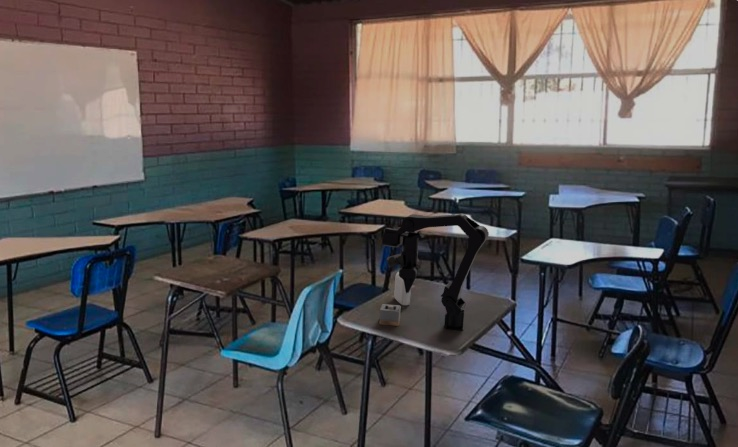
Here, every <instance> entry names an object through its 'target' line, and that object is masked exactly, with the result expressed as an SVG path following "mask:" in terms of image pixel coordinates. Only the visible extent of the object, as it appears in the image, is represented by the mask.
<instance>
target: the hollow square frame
mask: <svg viewBox="0 0 738 447" xmlns="http://www.w3.org/2000/svg"><path fill="white" fill-rule="evenodd" d="M388 306H393V310H390V309H388ZM401 306H402V305H401V304H400V305H398V304H387V303H382V305H381V306H380V309H379V321H380V320H382V321H393V322H399V318H400V319H401V313H402V312H401V311H402V309H401V308H402V307H401ZM399 323H400V322H399Z"/></svg>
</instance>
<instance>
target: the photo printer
mask: <svg viewBox="0 0 738 447" xmlns="http://www.w3.org/2000/svg"><path fill="white" fill-rule="evenodd" d="M394 278H395V280H394V295H393V296H394V297H393V298H394V299H395V301H397V302H398V303H399V304H400V305H401V306H409V305H410V304H411V292H412V288H411V289H410V291H409V293H406V290H405V285H404V280H403V279H402V278H400V276H399V271H397V272H396V274H395V277H394Z"/></svg>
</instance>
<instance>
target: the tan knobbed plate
mask: <svg viewBox="0 0 738 447" xmlns="http://www.w3.org/2000/svg"><path fill="white" fill-rule="evenodd" d="M388 309H390V310H393V306H388ZM400 322H401V317H400V318H399V322H393V321H382V320H380V319H379V325H385V326H395V327H398V326H400V325H399V324H400Z"/></svg>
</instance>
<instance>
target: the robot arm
mask: <svg viewBox="0 0 738 447" xmlns="http://www.w3.org/2000/svg"><path fill="white" fill-rule="evenodd" d="M453 226H456V227H457V226H458V228H460V230H461V231H462V232H463V233H464V234H465V235H466V236H467V237H468V240H467V245H466V251H465V252H464V255H463V258H462V260H461V262H460V263H459V266H458V269H457V271H456V273H455V276H454V278H453V280H452V282H451V283H450V282H448V283H447V284H446V285H445V286H444V288H443V293H442V294H441V295H440V297H441V299H440V300H441V304H442V306H444V308H445V311H446V312H445V314H444V324H443V325H444V326H445V329H447V330H459V331H463V330H464V325H465V324H464V323H465V322H464V321H465V307H466V305H467V303H466V302H465V300H464V299H463V298H462V294H463V288H464V284H465V282H466V279H467V276H468V275H469V272H470V270H471V268H472V265H473V263H474V260H475V258H476V256H477V254H478V252H479V251H480V249H481V248H482V246H483V245H484V243H485V242H486V241H487V239H488V238H489V235H490V233H489V230H488V229H487V227H485V226H483V225H481V224H478V223H477V222H476V221H474V220H473V219H472V218H470V217H468V216H467V215H466V214H465V213H458V214H447V215H446V214H445V215H443V214H442V215H434V216H433V215H431V216H430V215H429V216H428V215H423V214H415V213H412V214H409V215H407V216H406V217H404V218H403V219H402V222H401V226H399V227H398V228H391V227H386V228H384V232H383V235H382V239H381V240H382V242H381V243H382V246H385V247H392V248H399V247H400V246H402V250H401V252H400V253H397V254H394V255H390V256H387V258H386V262H387V263H386V264H387V265H388V268H393V267H395V266H398V265H399V266H400V268H399V269H398V272H399V276H400V278H402V279H403V280H404V285H405V290H406V293H409V291H410V289H411V290H412V286H413V285H414V283H415V280H416V278H417V272H418V270H419V266H420V260H419V257H418V256H419V255H418V254H419V239H422V238H424V237H425V235H424V234H423V233H422V232H421V230H424V229H427V228H439V227H440V228H441V227H453ZM406 232H408V233H406Z"/></svg>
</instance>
